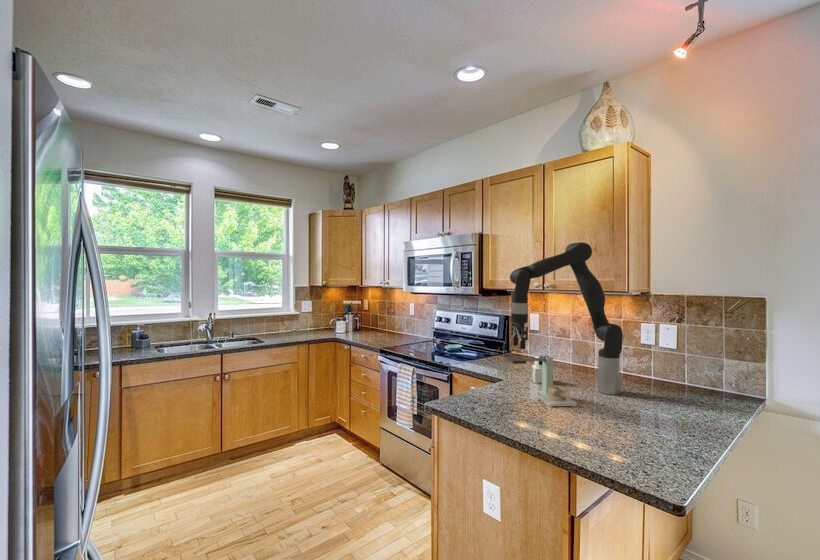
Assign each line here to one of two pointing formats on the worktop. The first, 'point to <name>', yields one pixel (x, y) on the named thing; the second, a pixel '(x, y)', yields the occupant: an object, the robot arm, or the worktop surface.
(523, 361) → the press lever
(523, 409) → the worktop surface
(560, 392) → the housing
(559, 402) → the press frame
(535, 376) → the container
